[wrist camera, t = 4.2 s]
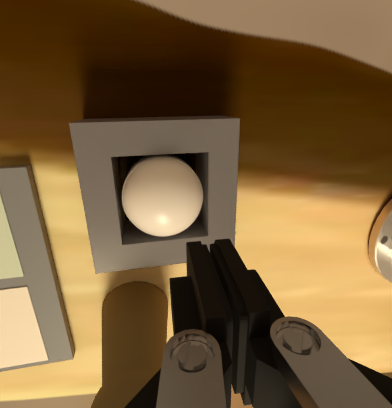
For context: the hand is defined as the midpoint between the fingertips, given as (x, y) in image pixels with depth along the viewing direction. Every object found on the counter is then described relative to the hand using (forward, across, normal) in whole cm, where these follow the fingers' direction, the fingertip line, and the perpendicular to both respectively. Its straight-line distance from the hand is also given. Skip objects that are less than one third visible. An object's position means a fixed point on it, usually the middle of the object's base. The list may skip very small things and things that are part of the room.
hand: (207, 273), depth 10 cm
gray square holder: (+12, +2, 0) cm, 12 cm away
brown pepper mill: (+12, +4, +12) cm, 17 cm away
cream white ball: (+11, +2, 0) cm, 12 cm away
